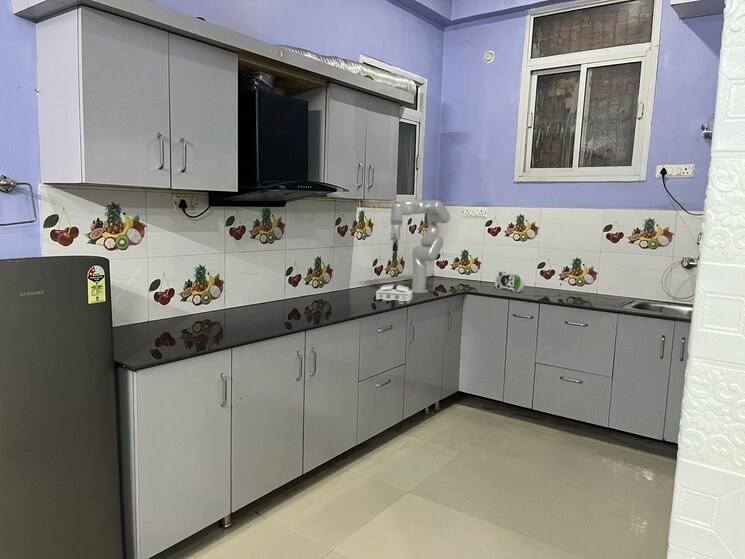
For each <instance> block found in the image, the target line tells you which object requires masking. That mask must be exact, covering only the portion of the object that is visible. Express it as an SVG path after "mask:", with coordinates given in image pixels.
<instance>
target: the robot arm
mask: <svg viewBox="0 0 745 559" xmlns="http://www.w3.org/2000/svg"><path fill="white" fill-rule="evenodd" d="M390 209H391V210H390V225H391V230H390V237H389V238H390V241H392V252H398V251H399V241H400V240H401V227H402V226H403V217H404V216H410V215H421V214H426V219H427V229H426V231H425V233H424V234H423V236H422V238H421V240H420V244H421V245H417V246H415V247H413V249H412V252H411V253H412V254H411V255H412V282H411V288H409V290H408V291H413V293H416V294H426V293H428V289H426V288H427V287H426V286H427V273H428V272H427V271H428V267H427V266H428V265H427V262H434V261H435V260H436V259H437V257H438V256H439V254H440V252H441V251H442V249H443V247H444V243H445V242H444V241H445V240H444V238H443V236H441V235H439V234H440V228H439V225H438V224H447V223H449V222H450V219H451V216H450V212H449V210H448V209H447V208H446V206H445V205H444V204H443V202H441V201H440V200H436V199H435V200H433V199H428V200H427V199H426V200H418V201H417V200H416V201H407V202H398V203H396V202H395V203H392V204H391V208H390Z"/></svg>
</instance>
